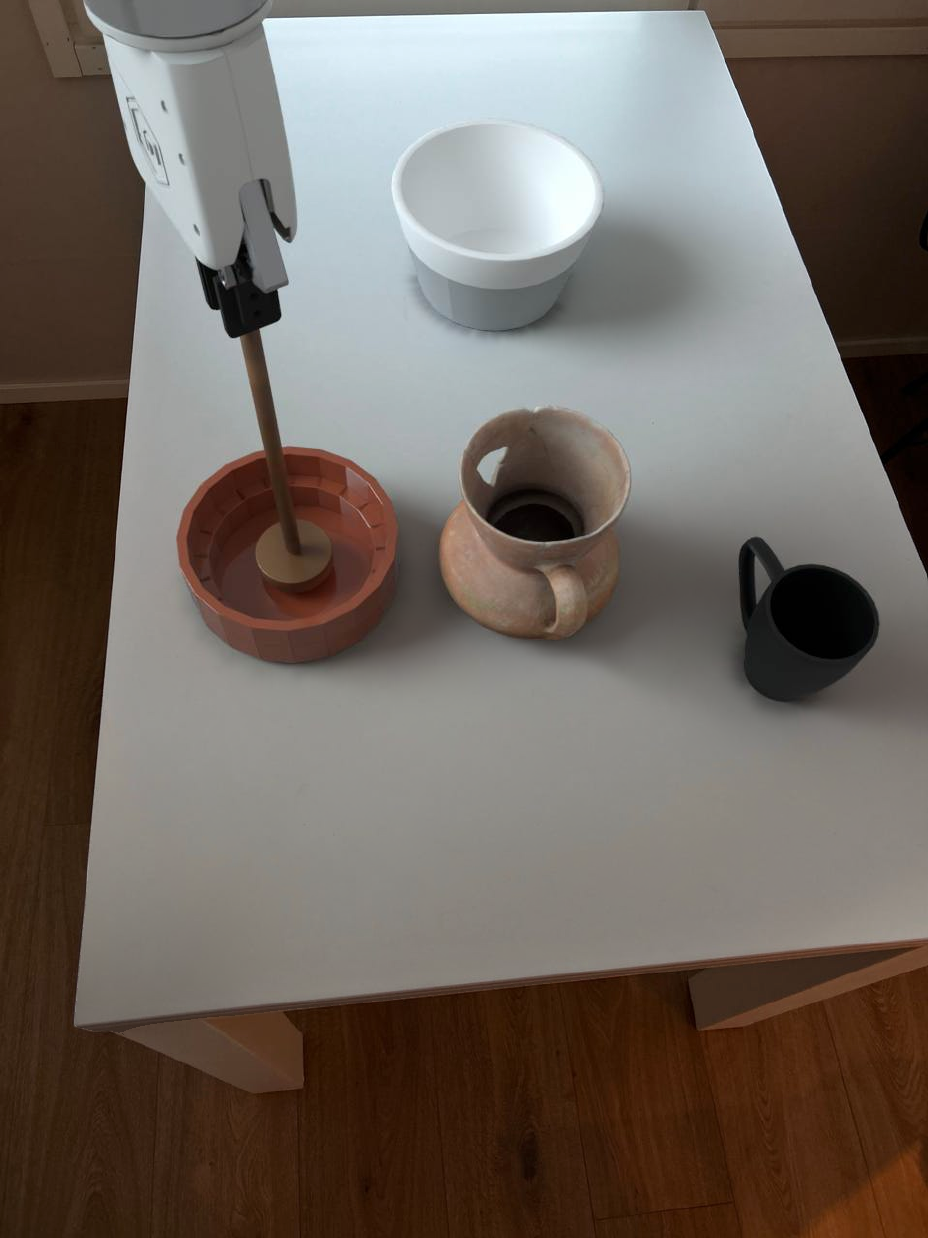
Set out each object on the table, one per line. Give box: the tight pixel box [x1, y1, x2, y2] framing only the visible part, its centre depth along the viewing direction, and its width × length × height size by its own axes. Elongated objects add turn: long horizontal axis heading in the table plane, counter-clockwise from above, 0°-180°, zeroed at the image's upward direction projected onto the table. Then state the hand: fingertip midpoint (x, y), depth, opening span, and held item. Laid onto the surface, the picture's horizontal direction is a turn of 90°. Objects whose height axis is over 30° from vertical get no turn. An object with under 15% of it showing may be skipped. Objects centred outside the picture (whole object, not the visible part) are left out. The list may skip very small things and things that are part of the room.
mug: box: [738, 536, 880, 703], centre depth 73 cm, size 8×12×10 cm
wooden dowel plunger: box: [237, 244, 334, 593], centre depth 63 cm, size 6×6×32 cm
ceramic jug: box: [438, 404, 632, 641], centre depth 73 cm, size 18×14×14 cm
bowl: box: [390, 118, 605, 332], centre depth 91 cm, size 19×19×11 cm
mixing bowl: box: [175, 445, 400, 664], centre depth 76 cm, size 17×17×6 cm
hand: (244, 311), depth 54 cm, fingers closed on wooden dowel plunger
